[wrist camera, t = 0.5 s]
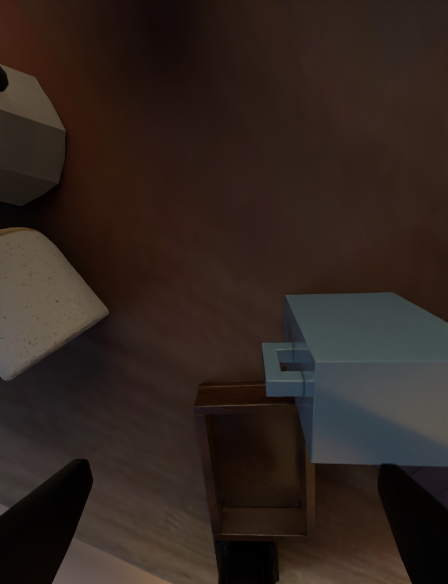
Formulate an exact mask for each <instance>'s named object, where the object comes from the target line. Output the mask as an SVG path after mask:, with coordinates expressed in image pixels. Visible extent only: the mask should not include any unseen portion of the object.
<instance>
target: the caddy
mask: <svg viewBox="0 0 448 584" xmlns="http://www.w3.org/2000/svg"><path fill="white" fill-rule="evenodd" d="M194 412H195V419H196V426H197V433H198V440H199V447H200V453H201V460H202V467H203V474H204V480H205V487H206V494H207V501H208V507H209V514H210V521H211V528H212V534H213V540H219V541H266V542H313V543H315V542H316V501H315V463H311V461H310V457H309V453H308V449H307V445H306V441H305V437H304V433H303V429H302V425H301V422H300V418H299V414H298V410H297V406H296V402H295V398H294V396H283V397H267V396H266V389H265V382H239V383H211V384H200V385H199V389H198V393H197V397H196V400H195V404H194Z"/></svg>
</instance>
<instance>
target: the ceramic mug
mask: <svg viewBox="0 0 448 584" xmlns="http://www.w3.org/2000/svg"><path fill="white" fill-rule="evenodd" d="M108 314H109V311H108V309H107V307H106V306H105V305H104V304H103V303H102V301H101V300H100V299H99V298H98V297H97V296H96V294H95V293H94V292H93V291H92V289H91V288H90V287H89V286H88V285H87V283H86V282H85V281H84V280H83V279H82V277H81V276H80V275H79V274H78V273H77V271H76V270H75V269H74V268H73V267H72V265H71V264H70V263H69V262H68V260H67V259H66V258H65V257H64V255H63V254H62V253H61V251H60V250H59V249H58V248H57V247H56V245H55V244H53V243H52V242H51V241H50V240H49V239H48V238H47V237H46V236H44V235H43V234H42V233H40V232H39V231H37V230H34V229H30V228H23V227H15V228H7V229H1V230H0V377H1V378H2V379H3V380H5V381H10V380H12V379H13V378H15V377H17V376H18V375H20V374H22V373H23V372H25V371H26V370H28V369H29V368H31V367H32V366H34V365H35V364H37V363H38V362H40V361H41V360H42V359H44V358H45V357H47V356H48V355H50V354H51V353H53V352H54V351H56V350H57V349H59V348H60V347H62V346H63V345H65V344H66V343H68V342H69V341H71V340H72V339H74V338H75V337H77V336H78V335H79V334H81V333H82V332H84V331H85V330H87V329H89V328H90V327H91V326H93V325H94V324H96V323H97V322H99V321H100V320H101V319H103V318H104V317H105V316H107V315H108Z"/></svg>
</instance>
